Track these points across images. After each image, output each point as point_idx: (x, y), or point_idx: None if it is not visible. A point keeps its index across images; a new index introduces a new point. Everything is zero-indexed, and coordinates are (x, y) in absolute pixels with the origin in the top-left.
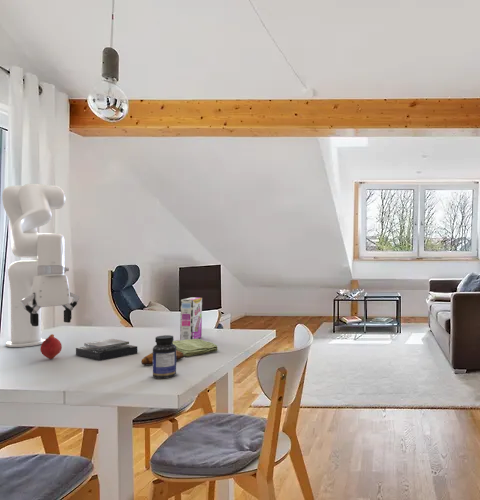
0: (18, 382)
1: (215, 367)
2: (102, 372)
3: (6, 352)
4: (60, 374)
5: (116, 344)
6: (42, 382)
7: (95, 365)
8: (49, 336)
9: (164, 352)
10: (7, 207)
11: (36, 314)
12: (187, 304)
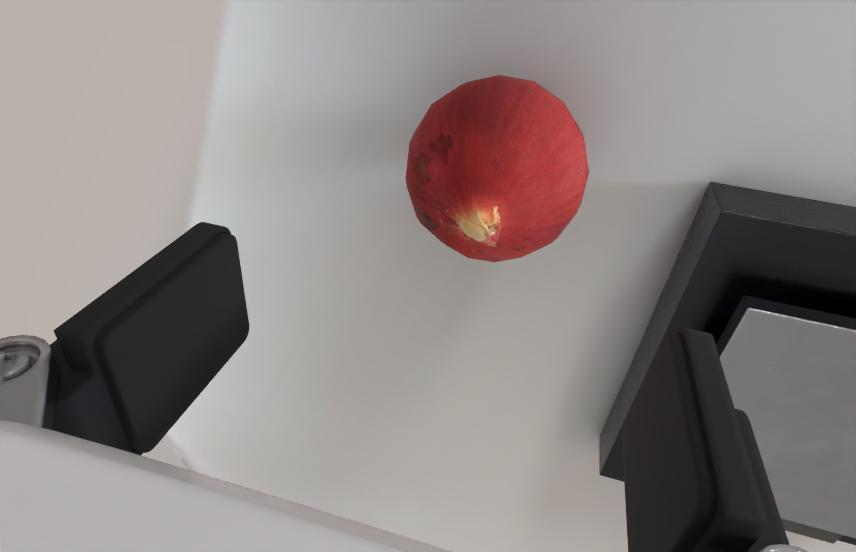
0: (197, 402)
1: None
2: (436, 541)
3: None
4: (334, 447)
5: (782, 513)
6: (252, 462)
7: (506, 472)
8: (456, 219)
9: None
10: None
11: (122, 447)
12: None
